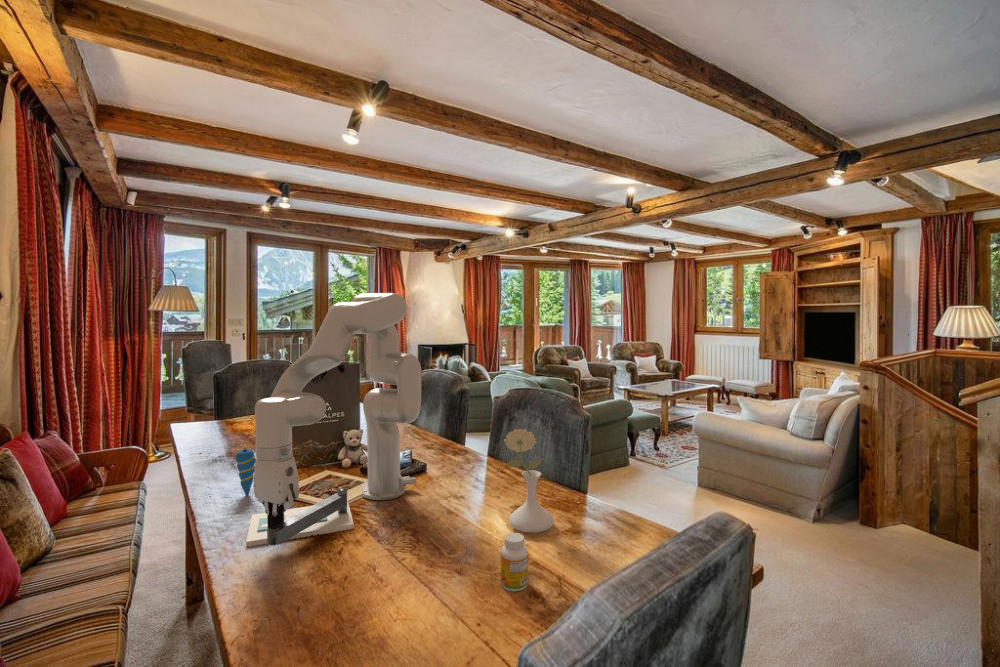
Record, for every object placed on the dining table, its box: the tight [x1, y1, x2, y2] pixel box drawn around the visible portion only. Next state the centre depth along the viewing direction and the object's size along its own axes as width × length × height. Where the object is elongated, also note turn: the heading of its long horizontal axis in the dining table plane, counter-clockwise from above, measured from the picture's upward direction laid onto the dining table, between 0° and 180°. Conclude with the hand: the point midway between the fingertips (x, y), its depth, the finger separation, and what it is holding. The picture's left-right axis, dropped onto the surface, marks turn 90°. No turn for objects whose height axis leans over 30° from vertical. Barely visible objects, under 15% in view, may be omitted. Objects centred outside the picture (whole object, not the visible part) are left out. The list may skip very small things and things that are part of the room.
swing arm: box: [266, 487, 348, 546], centre depth 116 cm, size 25×3×6 cm, turn 159°
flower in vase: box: [503, 428, 555, 534], centre depth 121 cm, size 13×11×25 cm
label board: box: [245, 500, 355, 547], centre depth 123 cm, size 24×16×2 cm, turn 113°
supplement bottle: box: [500, 532, 529, 593], centre depth 96 cm, size 5×5×10 cm
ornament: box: [235, 445, 256, 496], centre depth 141 cm, size 5×5×15 cm
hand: (276, 529), depth 111 cm, fingers closed
